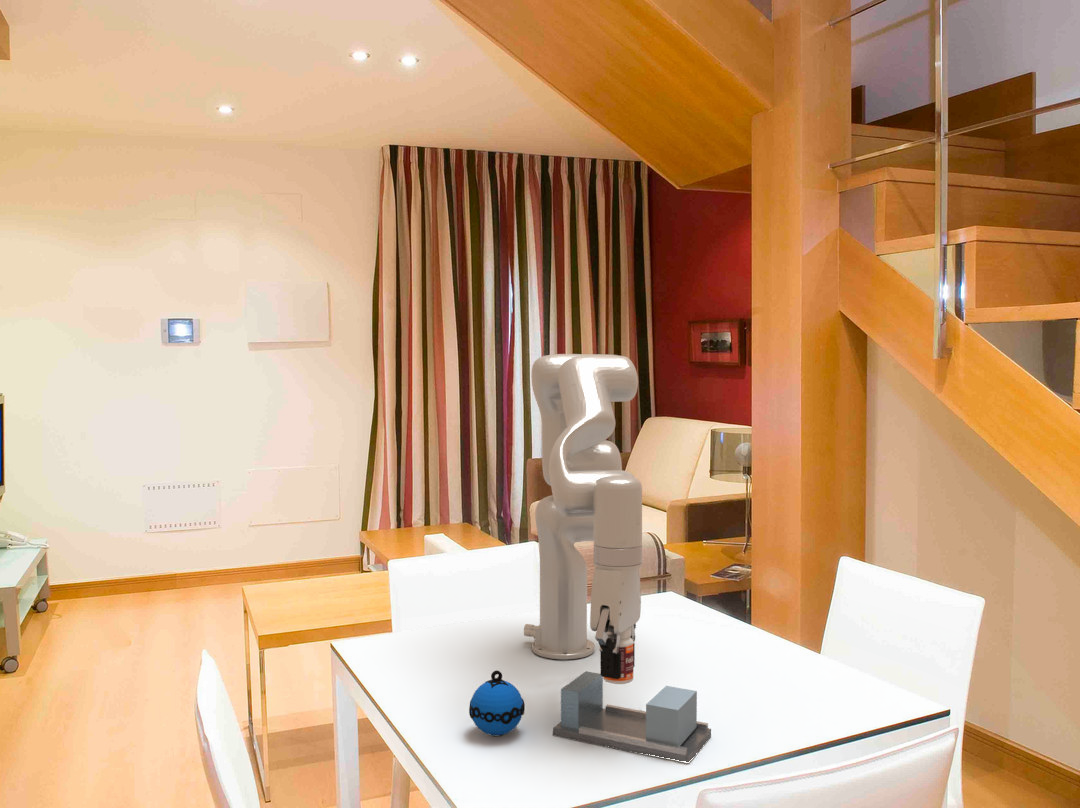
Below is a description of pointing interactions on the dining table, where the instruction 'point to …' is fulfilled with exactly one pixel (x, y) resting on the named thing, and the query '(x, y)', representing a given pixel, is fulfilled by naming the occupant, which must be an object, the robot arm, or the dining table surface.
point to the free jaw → (671, 715)
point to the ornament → (496, 706)
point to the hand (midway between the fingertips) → (617, 670)
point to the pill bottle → (624, 657)
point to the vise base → (615, 723)
